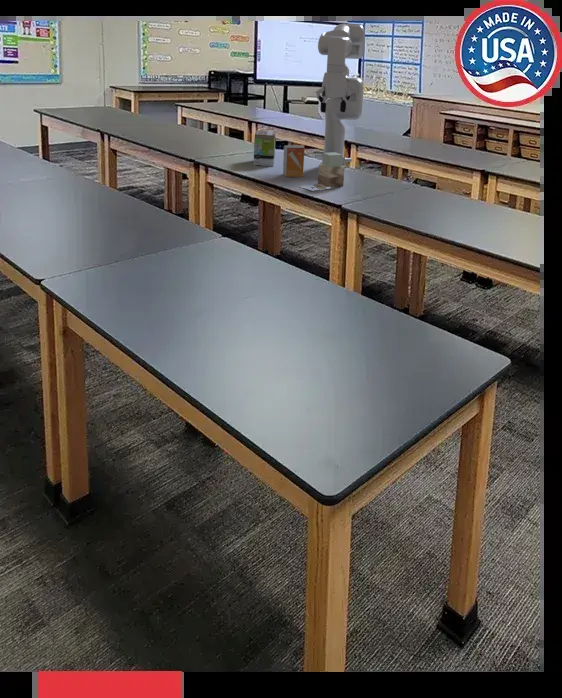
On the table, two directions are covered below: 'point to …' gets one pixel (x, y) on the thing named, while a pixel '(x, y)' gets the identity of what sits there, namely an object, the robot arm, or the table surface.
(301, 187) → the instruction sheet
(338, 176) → the wood-grain cube
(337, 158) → the sage brick
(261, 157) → the tea box
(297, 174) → the small box
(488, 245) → the table surface
